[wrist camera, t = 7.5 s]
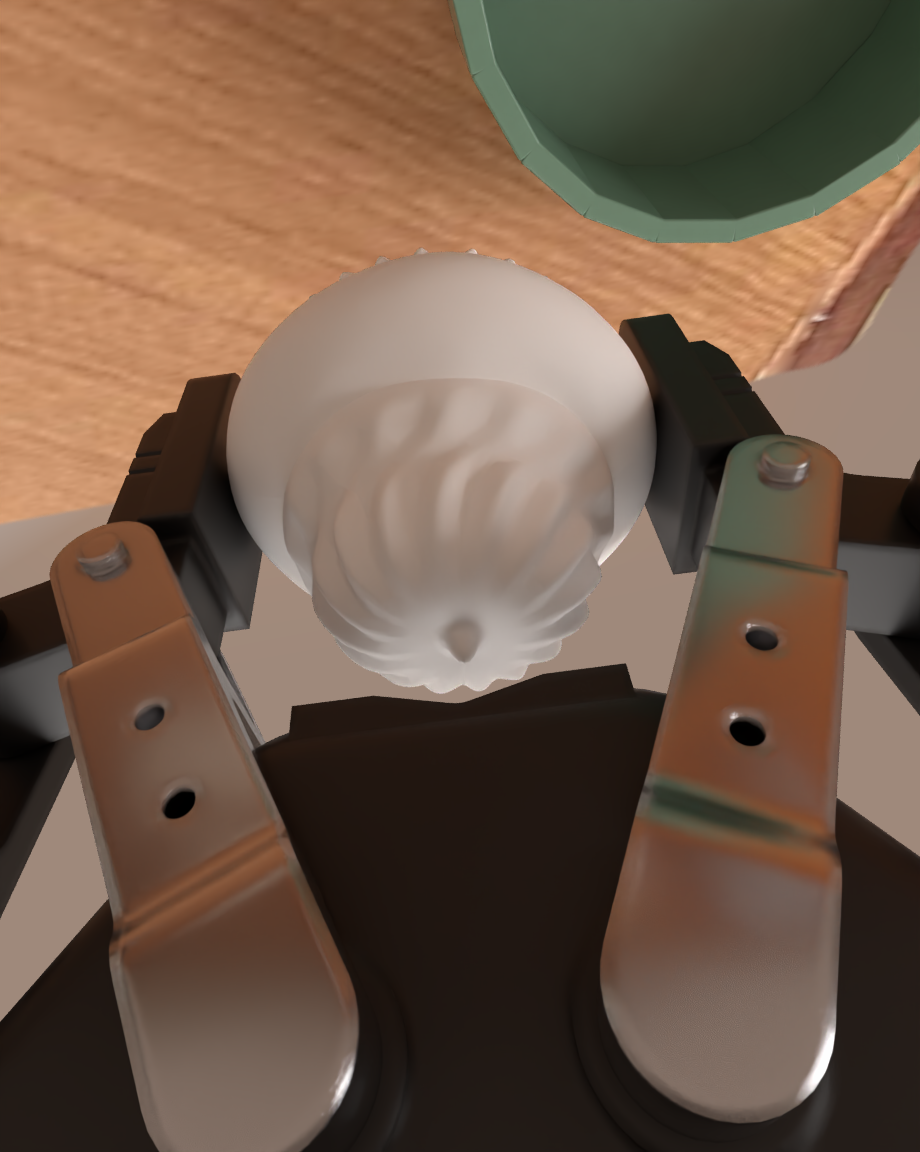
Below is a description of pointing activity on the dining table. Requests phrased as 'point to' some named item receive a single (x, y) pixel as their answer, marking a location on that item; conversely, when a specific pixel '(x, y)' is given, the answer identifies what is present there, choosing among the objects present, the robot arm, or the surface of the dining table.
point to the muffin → (443, 462)
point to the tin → (699, 104)
